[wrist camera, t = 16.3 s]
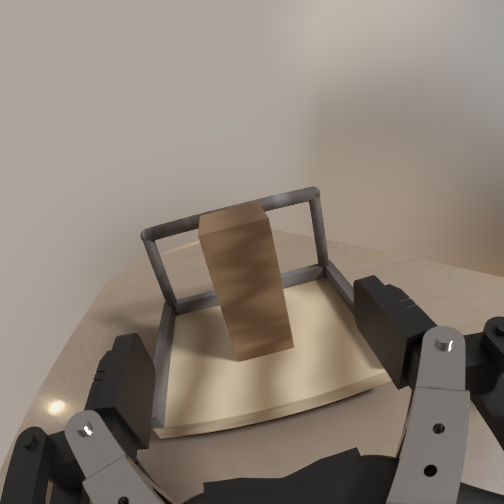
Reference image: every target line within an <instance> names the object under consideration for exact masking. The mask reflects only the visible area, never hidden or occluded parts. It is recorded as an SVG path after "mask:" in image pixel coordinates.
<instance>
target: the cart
mask: <svg viewBox="0 0 504 504" xmlns="http://www.w3.org/2000/svg"><path fill="white" fill-rule="evenodd" d="M257 201H258V202H259V204H260V205H261V207H262V209H263V210H264V212H265V211H269V210H273V209H277V208H282V207H286V206H290V205H294V204H298V203H303V202H307V201H309V204H310V210H311V217H312V223H313V230H314V236H315V243H316V250H317V257H318V264H315V265H311V266H307V267H303V268H300V269H296V270H292V271H288V272H285V273H281V274H280V276H281V281H282V286H283V291H284V296H285V301H286V307H287V312H288V317H289V322H290V327H291V333H292V338H293V343H294V348H291V349H287V350H284V351H280V352H276V353H273V354H269V355H265V356H261V357H257V358H253V359H249V360H245V361H241V362H239V361H238V358H237V355H236V352H235V349H234V346H233V344H232V341H231V338H230V335H229V332H228V329H227V326H226V323H225V320H224V317H223V314H222V311H221V307H220V304H219V301H218V298H217V295H216V292H215V290H214V291H210V292H206V293H202V294H198V295H194V296H190V297H186V298H181V299H177V300H176V298H175V295H174V293H173V290H172V287H171V285H170V282H169V279H168V277H167V274H166V271H165V269H164V266H163V263H162V260H161V257H160V255H159V252H158V249H157V246H156V243H155V240H157V239H161V238H164V237H168V236H172V235H175V234H179V233H183V232H187V231H190V230H194V229H198V228H199V221H200V216H202V215H206V214H209V213H213V212H217V211H221V210H225V209H229V208H233V207H237V206H241V205H245V204H249V203H253V202H257ZM141 239H142V240H143V242H144V245H145V248H146V250H147V253H148V256H149V259H150V262H151V265H152V267H153V270H154V272H155V275H156V278H157V280H158V283H159V285H160V288H161V290H162V293H163V296H164V298H165V300H166V302H165V303H164V307H163V312H162V317H161V322H160V327H159V333H158V338H157V343H156V349H155V354H154V360H153V364H154V367H155V372H156V383H155V391H154V399H153V408H152V417H151V427H152V428H153V430H154V431H155V432H156V434H157V435H158V436H159V437H160V439H162V438H171V437H179V436H187V435H197V434H201V433H207V432H213V431H219V430H225V429H230V428H235V427H240V426H245V425H250V424H254V423H259V422H263V421H267V420H271V419H276V418H280V417H283V416H287V415H291V414H295V413H298V412H302V411H305V410H309V409H312V408H316V407H319V406H322V405H325V404H328V403H332V402H335V401H338V400H341V399H344V398H346V397H349V396H352V395H355V394H358V393H361V392H364V391H367V390H369V389H371V388H374V387H377V386H379V385H382V384H384V383H387V382H389V381H392V380H391V378H390V377H389V375H388V373H387V372H386V370H385V369H384V367H383V366H382V364H381V363H380V361H379V360H378V358H377V357H376V355H375V354H374V352H373V351H372V349H371V348H370V346H369V345H368V343H367V342H366V340H365V339H364V337H363V336H362V334H361V333H360V331H359V330H358V328H357V325H356V322H355V317H354V288H353V287H352V286H351V285H350V283H349V282H348V281H347V280H346V279H345V277H344V276H343V275H342V274H341V273H340V271H339V270H338V269H337V268H336V267H335V265H334V264H333V263H332V262H331V261H330V260H329V261H328V253H327V245H326V238H325V230H324V223H323V217H322V209H321V202H320V191H319V189H318V188H316V187H309V188H304V189H300V190H295V191H291V192H286V193H282V194H278V195H273V196H270V197H265V198H261V199H257V200H253V201H249V202H244V203H240V204H237V205H232V206H229V207H225V208H221V209H217V210H213V211H209V212H205V213H201V214H198V215H194V216H190V217H187V218H183V219H179V220H176V221H172V222H168V223H165V224H161V225H158V226H154V227H151V228H148V229H144V230H143V231H142V232H141Z"/></svg>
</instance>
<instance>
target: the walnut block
mask: <svg viewBox="0 0 504 504" xmlns="http://www.w3.org/2000/svg"><path fill="white" fill-rule="evenodd" d="M198 237H199V240H200V243H201V247H202V250H203V253H204V257H205V260H206V263H207V266H208V270H209V273H210V276H211V279H212V282H213V286H214V289H215V292H216V295H217V298H218V301H219V304H220V307H221V311H222V314H223V317H224V320H225V323H226V326H227V329H228V332H229V335H230V338H231V341H232V344H233V346H234V349H235V352H236V355H237V358H238V361H239V362H241V361H245V360H249V359H253V358H257V357H261V356H265V355H269V354H273V353H276V352H280V351H284V350H287V349H291V348H294V343H293V338H292V333H291V327H290V322H289V317H288V312H287V307H286V301H285V296H284V291H283V286H282V281H281V276H280V271H279V266H278V261H277V256H276V251H275V247H274V242H273V237H272V232H271V227H270V223H269V218H268V217H267V215H266V214H265V212H264V210H263V209H262V207H261V205H260V204H259V202H258V201H257V202H253V203H249V204H245V205H241V206H237V207H233V208H229V209H225V210H221V211H217V212H213V213H209V214H206V215H202V216H200V221H199V233H198Z"/></svg>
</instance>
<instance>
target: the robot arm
mask: <svg viewBox="0 0 504 504" xmlns="http://www.w3.org/2000/svg"><path fill="white" fill-rule="evenodd" d="M353 288H354V317H355V322H356V325H357V328H358V330H359V331H360V333H361V334H362V336H363V337H364V339H365V340H366V342H367V343H368V345H369V346H370V348H371V349H372V351H373V352H374V354H375V355H376V357H377V358H378V360H379V361H380V363H381V364H382V366H383V367H384V369H385V370H386V372H387V373H388V375H389V377H390V378H391V380H392V381H393V383H394V384H395V386H396V387H397V389H398V390H399V389H402V388H404V387H406V386H408V385H409V387H410V388H411V390H412V392H411V396H410V401H409V406H408V410H407V415H406V419H405V423H404V427H403V431H402V435H401V439H400V442H399V445H398V449H397V452H396V455H395V457H390V456H384V455H363V456H360V453H359V451H358V449H357V447H356V448H353V449H350V450H347V451H345V452H342V453H339V454H335V455H332V456H329V457H326V458H323V459H320V460H318V461H316V462H314V463H312V464H310V465H308V466H307V467H305V468H303V469H301V470H299V471H297V472H295V473H293V474H291V475H289V476H286V477H284V478H236V479H229V480H222V481H215V482H207V483H203V484H204V493H201V494H198V495H196V496H194V497H192V498H190V499H189V500H187V501H185V502H184V503H183V504H504V495H501V494H497V493H493V492H490V491H487V490H483V489H480V488H477V487H474V486H471V485H468V484H465V483H462V482H460V481H461V476H462V470H463V464H464V457H465V450H466V442H467V433H468V422H469V408H470V399H471V401H472V402H473V404H474V405H475V406H476V408H477V409H478V411H479V412H480V414H481V416H482V417H483V419H484V420H485V422H486V423H487V425H488V426H489V428H490V429H491V431H492V433H493V434H494V436H495V437H496V439H497V441H498V442H499V444H500V445H501V447H502V449H503V450H504V378H503V377H504V317H493V318H491V319H489V320H488V321H487V322H486V324H485V326H484V330H483V332H481V333H475V334H470V335H462V334H461V333H460V332H459V331H458V330H456V329H454V328H452V327H448V326H437V325H436V324H435V323H434V322H433V321H432V320H431V319H430V318H429V317H428V315H427V314H426V313H425V312H424V311H423V310H422V309H421V308H420V307H419V306H418V305H416V304H415V302H414V301H413V300H412V299H409V296H407V295H406V294H405V293H404V292H403V291H402V290H401V289H399V288H397V287H395V286H393V285H390V284H388V285H384V284H383V283H382V282H381V281H380V280H379V279H378V278H377V277H376V276H374V275H372V276H369V277H365V278H362V279H358V280H355V281H354V285H353ZM96 372H97V373H96V374H95V377H94V382H93V383H92V386H91V389H90V393H89V396H88V399H87V402H86V406H85V409H84V411H81V412H79V413H77V414H75V415H74V416H73V417H71V418H70V420H69V421H68V423H67V424H66V427H65V430H64V431H61V432H58V433H55V434H51V435H47V434H46V433H45V432H44V431H43V430H42V429H41V428H39V427H30V428H27V429H26V430H24V431H23V432H22V433H21V434H20V435H19V437H18V438H17V441H16V444H15V447H14V450H13V454H12V457H11V461H10V464H9V468H8V472H7V475H6V479H5V483H4V488H3V492H2V496H1V501H0V504H46V502H45V498H46V491H47V486H48V480H49V481H50V482H51V483H53V488H52V495H51V501H50V504H89V502H90V499H91V501H92V502H93V504H177V503H176V502H175V501H174V500H173V499H172V498H171V497H170V496H169V495H168V494H167V493H166V492H165V491H164V490H163V488H162V487H161V486H160V485H159V484H158V483H157V481H156V480H155V479H154V478H153V477H152V476H151V474H150V473H149V472H148V471H147V469H146V468H145V467H144V466H143V465H142V463H141V462H140V461H139V460H138V459H137V458H136V455H137V449H149V438H150V427H151V417H152V408H153V399H154V391H155V383H156V372H155V367H154V364H153V362H152V360H151V358H150V356H149V354H148V352H147V350H146V349H145V347H144V345H143V343H142V341H141V339H140V337H139V335H138V334H137V333H130V334H125V335H120V336H117V337H116V339H115V342H114V345H113V348H112V351H107V353H106V354H105V355H104V356H103V358H102V359H101V360H100V362H99V365H98V368H97V371H96Z"/></svg>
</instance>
